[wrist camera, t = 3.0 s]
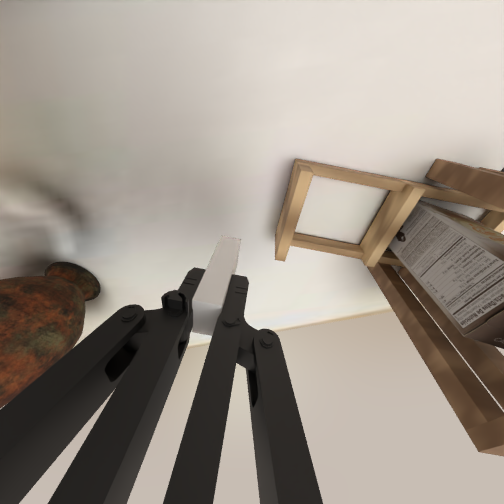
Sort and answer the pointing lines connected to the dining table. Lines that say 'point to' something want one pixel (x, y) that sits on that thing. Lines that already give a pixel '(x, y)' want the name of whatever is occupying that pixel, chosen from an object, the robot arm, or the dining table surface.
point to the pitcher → (40, 322)
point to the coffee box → (456, 268)
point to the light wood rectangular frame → (384, 223)
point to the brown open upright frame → (434, 341)
